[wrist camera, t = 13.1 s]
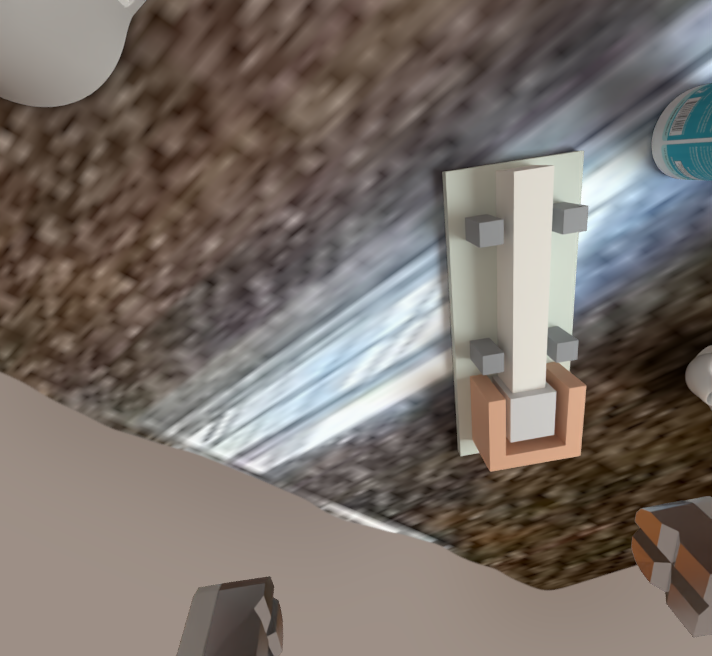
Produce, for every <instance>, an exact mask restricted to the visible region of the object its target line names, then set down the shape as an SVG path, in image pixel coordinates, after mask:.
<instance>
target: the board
mask: <svg viewBox="0 0 712 656" xmlns="http://www.w3.org/2000/svg"><path fill="white" fill-rule="evenodd" d="M583 159H584V151H573V152H567V153H560V154H554V155H547V156H541V157H534V158H528V159H522V160H515V161H509V162H502V163H496V164H489V165H483V166H476V167H470V168H463V169H457V170H451V171H444V172H442V178H443V196H444V213H445V231H446V248H447V266H448V284H449V301H450V319H451V337H452V354H453V372H454V390H455V407H456V425H457V443H458V451H459V454H460V456H464V455H470V454H476V453H480V454H481V456H482V458H483V460H484V462H485V463H486V465H487V467H488V469H489V471H490V472H491V471H497V470H502V469H508V468H514V467H519V466H525V465H530V464H536V463H542V462H547V461H553V460H559V459H564V458H570V457H576V456H580V454H581V442H582V430H583V419H584V407H585V395H586V385H585V384H584V383H583V382H581V381H580V380H579V379H578V378H577V377H575V376H574V375H573V374H572V373H571V372H570V361H571V360H577V355H578V341H579V340H578V339H576V338H575V337H573V336H572V326H573V311H574V296H575V280H576V265H577V250H578V235H579V232H582V231H587V218H588V206H586V205H581V189H582V174H583ZM529 165H554V189H553V213H552V238H551V262H550V287H549V311H548V335H547V360H546V382H547V383H548V384H549V385H550V386H551V387H552V388H553V389H554V390H555V391H556V410H555V429H554V435H551V436H545V437H540V438H534V439H528V440H523V441H517V442H511V443H510V441H509V440H508V438H507V437H506V399H505V398H504V397H503V395H502V394H501V393H500V392H499V390H498V389H497V388H496V387H495V385H494V384H493V383H492V377H493V376H498V373H500V372H504V352H503V351H502V350H501V349H500V348H499V347H498V336H497V245H501V244H504V219H501V218H498V217H496V171H497V170H503V169H510V168H516V167H522V166H529Z"/></svg>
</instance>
